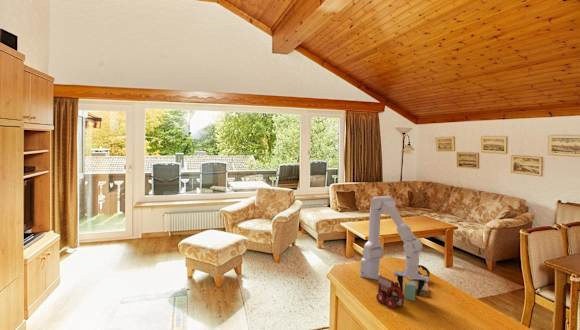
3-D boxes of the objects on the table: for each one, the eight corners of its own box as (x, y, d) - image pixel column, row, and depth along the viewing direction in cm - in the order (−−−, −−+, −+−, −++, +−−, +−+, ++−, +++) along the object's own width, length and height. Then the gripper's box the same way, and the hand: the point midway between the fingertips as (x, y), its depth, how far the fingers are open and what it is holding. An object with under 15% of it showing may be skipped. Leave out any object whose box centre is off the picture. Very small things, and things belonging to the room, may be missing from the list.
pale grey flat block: (409, 293, 146) (410, 287, 145) (409, 286, 153) (410, 280, 153) (428, 297, 143) (428, 290, 142) (427, 289, 150) (427, 283, 150)
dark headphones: (420, 274, 166) (428, 265, 162) (425, 290, 158) (434, 280, 154) (400, 269, 166) (407, 259, 161) (403, 284, 158) (411, 274, 153)
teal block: (404, 298, 140) (405, 285, 140) (404, 293, 144) (405, 281, 144) (414, 300, 138) (415, 287, 138) (414, 296, 143) (415, 283, 142)
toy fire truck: (397, 312, 129) (399, 288, 128) (372, 299, 138) (374, 277, 138) (406, 306, 133) (408, 283, 132) (381, 294, 143) (383, 273, 142)
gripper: (394, 265, 139) (392, 294, 140) (429, 271, 134) (427, 301, 135) (395, 259, 145) (393, 287, 147) (428, 265, 140) (426, 294, 141)
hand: (409, 293), depth 141 cm, fingers open, 6 cm apart
